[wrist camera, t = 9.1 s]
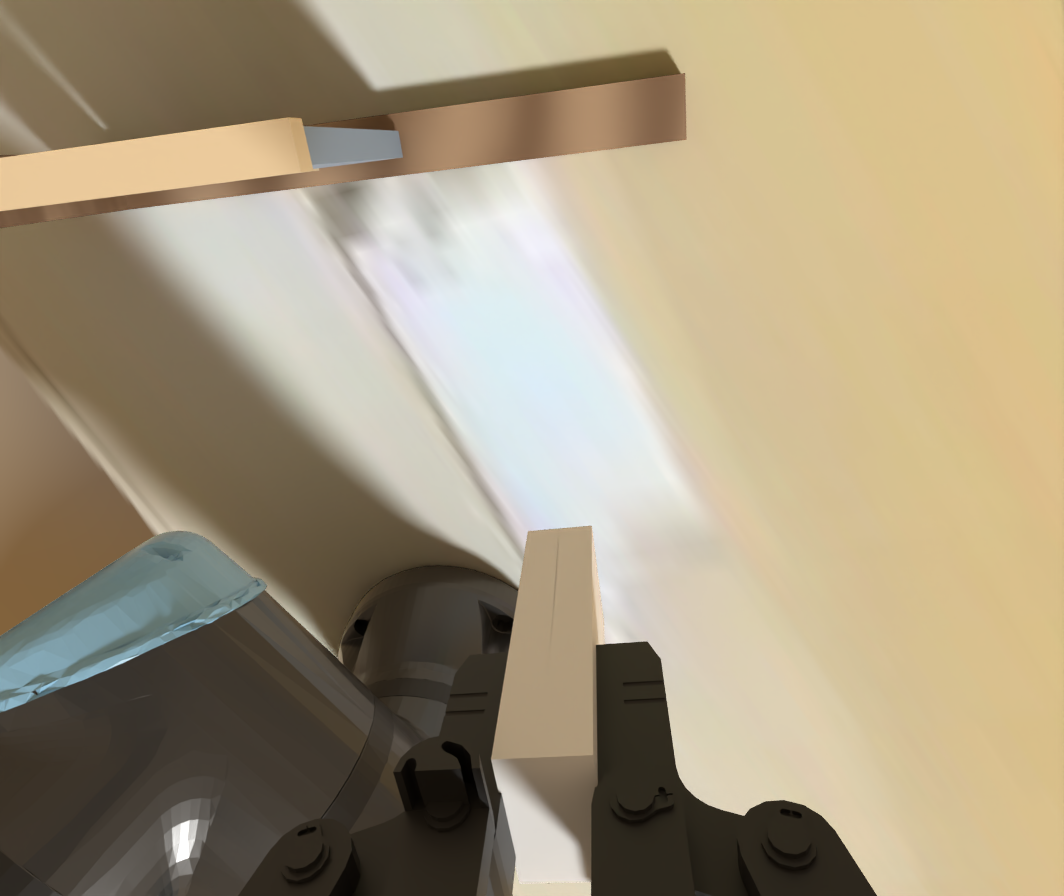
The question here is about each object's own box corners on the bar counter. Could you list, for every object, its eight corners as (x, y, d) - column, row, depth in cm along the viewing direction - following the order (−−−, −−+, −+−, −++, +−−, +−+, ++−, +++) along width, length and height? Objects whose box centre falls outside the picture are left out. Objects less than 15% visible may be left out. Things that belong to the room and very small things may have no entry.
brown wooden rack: (114, 210, 38) (-134, 246, 25) (96, 156, 37) (-175, 164, 24) (683, 139, 33) (732, 138, 21) (682, 75, 32) (732, 32, 20)
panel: (142, 195, 36) (-87, 221, 24) (132, 162, 35) (-109, 173, 23) (407, 161, 34) (301, 172, 22) (401, 125, 33) (288, 117, 21)
